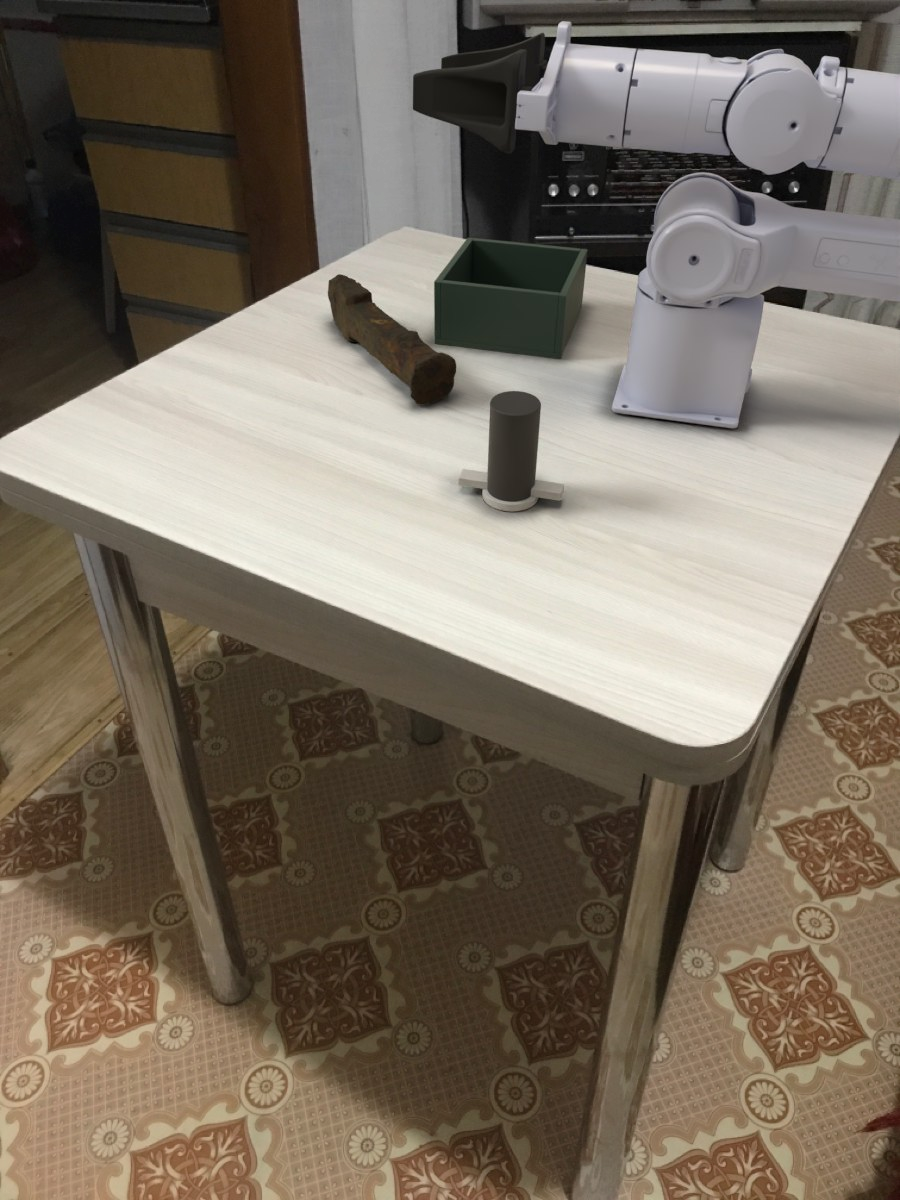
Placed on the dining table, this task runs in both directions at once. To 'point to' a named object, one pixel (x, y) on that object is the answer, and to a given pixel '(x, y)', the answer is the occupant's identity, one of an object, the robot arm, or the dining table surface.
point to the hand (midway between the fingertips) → (428, 82)
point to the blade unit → (512, 455)
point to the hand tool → (390, 341)
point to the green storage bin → (510, 297)
